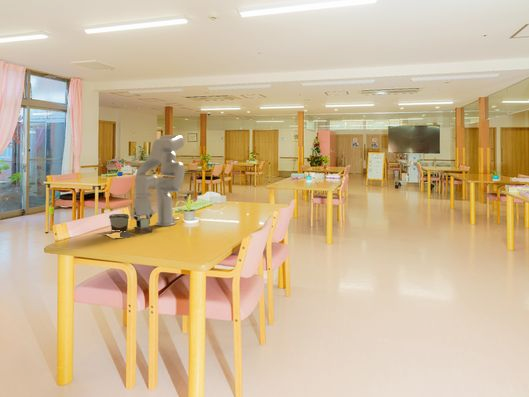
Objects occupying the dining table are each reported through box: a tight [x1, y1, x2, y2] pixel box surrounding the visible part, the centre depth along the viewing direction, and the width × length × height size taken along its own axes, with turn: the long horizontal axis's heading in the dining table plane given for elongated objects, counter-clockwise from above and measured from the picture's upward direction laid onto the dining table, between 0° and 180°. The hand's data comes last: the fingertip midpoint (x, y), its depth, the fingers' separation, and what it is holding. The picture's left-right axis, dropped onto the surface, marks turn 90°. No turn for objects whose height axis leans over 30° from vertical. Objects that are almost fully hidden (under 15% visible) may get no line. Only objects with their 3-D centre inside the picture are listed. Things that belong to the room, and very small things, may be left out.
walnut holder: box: [133, 225, 153, 235], centre depth 236 cm, size 8×8×3 cm
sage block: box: [138, 217, 150, 229], centre depth 236 cm, size 5×5×8 cm
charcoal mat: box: [120, 231, 136, 238], centre depth 227 cm, size 12×16×1 cm
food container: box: [108, 213, 130, 232], centre depth 241 cm, size 12×6×10 cm, turn 84°
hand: (143, 226), depth 236 cm, fingers closed on sage block, 5 cm apart
